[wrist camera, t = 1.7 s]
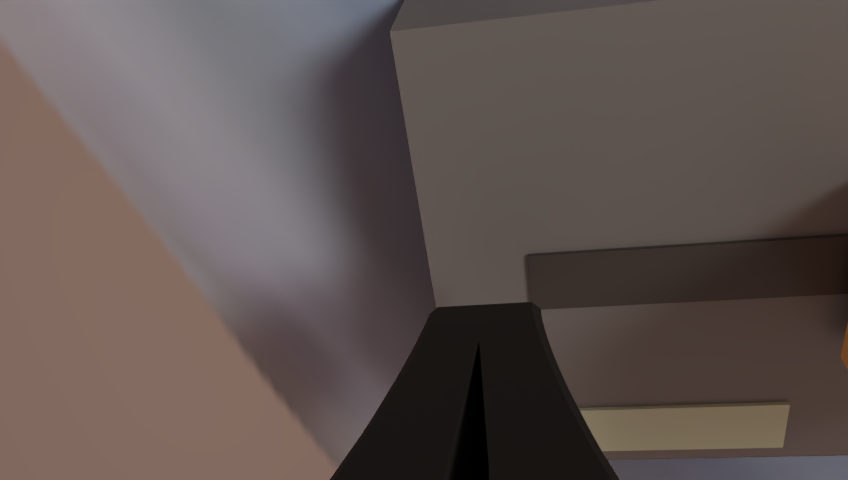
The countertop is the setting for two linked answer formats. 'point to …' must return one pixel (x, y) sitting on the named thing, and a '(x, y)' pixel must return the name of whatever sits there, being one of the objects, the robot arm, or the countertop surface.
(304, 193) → the countertop surface
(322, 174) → the countertop surface
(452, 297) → the switch panel
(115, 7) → the countertop surface
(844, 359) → the knob
